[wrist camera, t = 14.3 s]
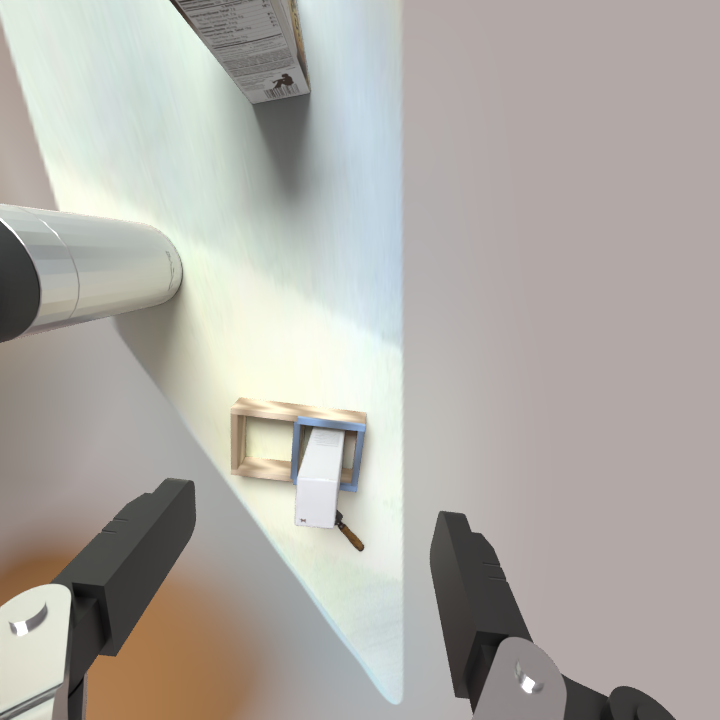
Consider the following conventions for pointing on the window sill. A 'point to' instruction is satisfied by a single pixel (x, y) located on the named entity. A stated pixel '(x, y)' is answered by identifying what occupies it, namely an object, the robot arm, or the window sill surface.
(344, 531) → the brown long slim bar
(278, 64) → the coffee box
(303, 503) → the skincare box
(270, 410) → the organiser
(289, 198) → the window sill surface
